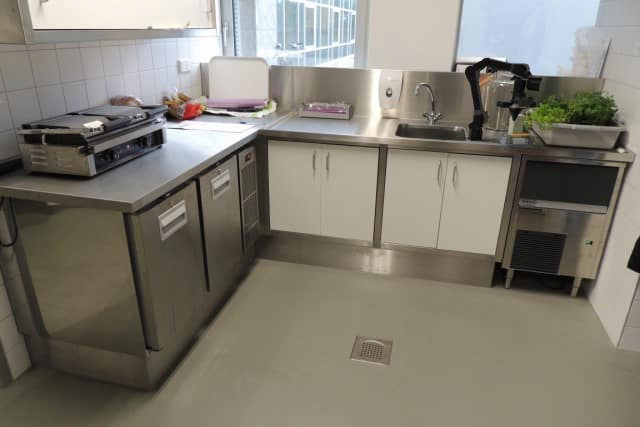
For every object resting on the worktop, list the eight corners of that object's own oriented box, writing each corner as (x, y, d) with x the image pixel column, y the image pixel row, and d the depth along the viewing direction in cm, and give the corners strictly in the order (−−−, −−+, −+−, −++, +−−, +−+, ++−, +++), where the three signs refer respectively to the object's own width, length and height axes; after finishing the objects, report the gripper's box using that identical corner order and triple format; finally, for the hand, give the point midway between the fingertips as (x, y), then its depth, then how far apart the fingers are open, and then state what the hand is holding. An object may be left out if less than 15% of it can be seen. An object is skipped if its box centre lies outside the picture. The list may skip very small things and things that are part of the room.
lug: (528, 145, 241) (530, 136, 239) (526, 144, 243) (527, 135, 241) (532, 145, 241) (534, 136, 239) (529, 144, 244) (531, 135, 242)
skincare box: (511, 137, 259) (515, 115, 254) (506, 135, 263) (510, 114, 258) (521, 136, 260) (525, 115, 256) (516, 135, 264) (520, 113, 260)
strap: (505, 137, 241) (506, 135, 241) (503, 136, 244) (503, 134, 243) (530, 136, 243) (530, 134, 242) (527, 135, 246) (527, 133, 245)
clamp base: (507, 146, 239) (509, 136, 237) (497, 141, 249) (498, 131, 247) (536, 145, 241) (538, 135, 239) (525, 141, 251) (527, 130, 249)
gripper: (509, 92, 223) (504, 124, 229) (545, 91, 226) (539, 123, 232) (498, 89, 234) (493, 120, 239) (532, 88, 236) (527, 119, 242)
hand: (513, 121), depth 238 cm, fingers closed
